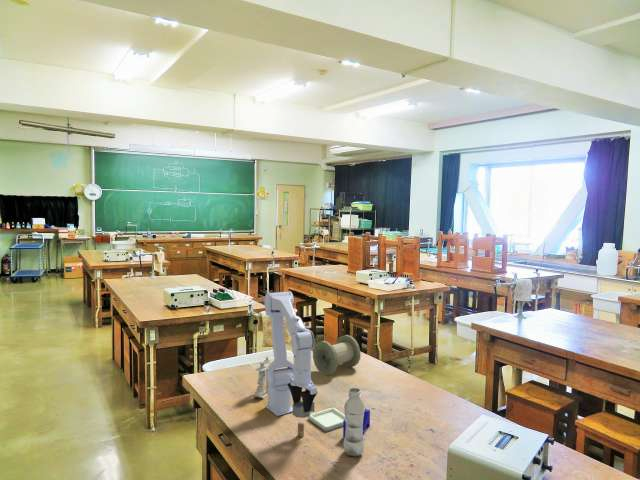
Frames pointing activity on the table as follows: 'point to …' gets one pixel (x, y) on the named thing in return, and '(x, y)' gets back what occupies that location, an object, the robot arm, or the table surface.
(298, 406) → the grey octagonal ring
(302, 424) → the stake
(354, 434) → the plastic bottle
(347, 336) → the spool
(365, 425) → the cable clip
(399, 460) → the table surface
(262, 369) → the white figurine
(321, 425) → the tray
